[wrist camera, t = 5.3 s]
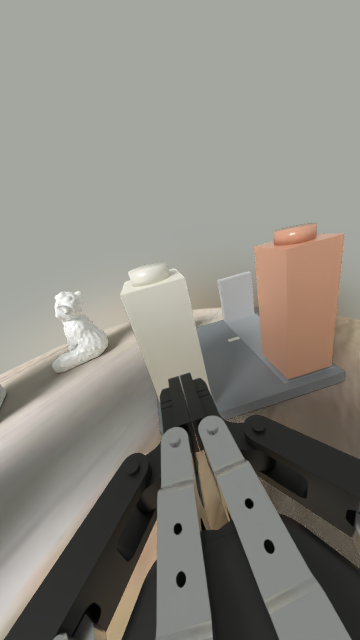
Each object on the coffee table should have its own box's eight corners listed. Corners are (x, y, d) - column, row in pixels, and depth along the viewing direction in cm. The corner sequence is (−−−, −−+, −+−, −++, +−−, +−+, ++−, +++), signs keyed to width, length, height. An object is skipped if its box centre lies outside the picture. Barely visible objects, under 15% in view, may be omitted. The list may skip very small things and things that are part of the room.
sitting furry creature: (78, 345, 42) (50, 290, 37) (118, 336, 41) (94, 279, 36) (53, 375, 33) (11, 309, 28) (103, 364, 32) (69, 295, 28)
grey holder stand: (163, 440, 18) (134, 369, 15) (153, 346, 34) (138, 301, 30) (348, 379, 19) (360, 301, 16) (257, 316, 35) (253, 269, 32)
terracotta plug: (288, 379, 19) (286, 234, 14) (262, 354, 23) (253, 235, 18) (331, 365, 19) (345, 218, 14) (298, 343, 23) (299, 222, 18)
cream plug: (166, 419, 18) (114, 280, 13) (161, 385, 22) (121, 270, 17) (213, 403, 19) (181, 262, 13) (200, 373, 23) (172, 256, 17)
